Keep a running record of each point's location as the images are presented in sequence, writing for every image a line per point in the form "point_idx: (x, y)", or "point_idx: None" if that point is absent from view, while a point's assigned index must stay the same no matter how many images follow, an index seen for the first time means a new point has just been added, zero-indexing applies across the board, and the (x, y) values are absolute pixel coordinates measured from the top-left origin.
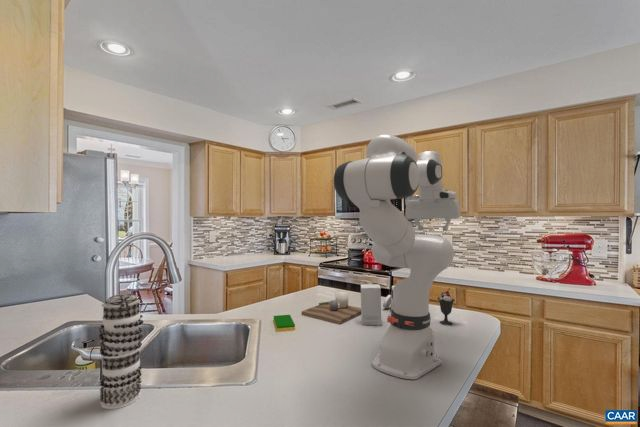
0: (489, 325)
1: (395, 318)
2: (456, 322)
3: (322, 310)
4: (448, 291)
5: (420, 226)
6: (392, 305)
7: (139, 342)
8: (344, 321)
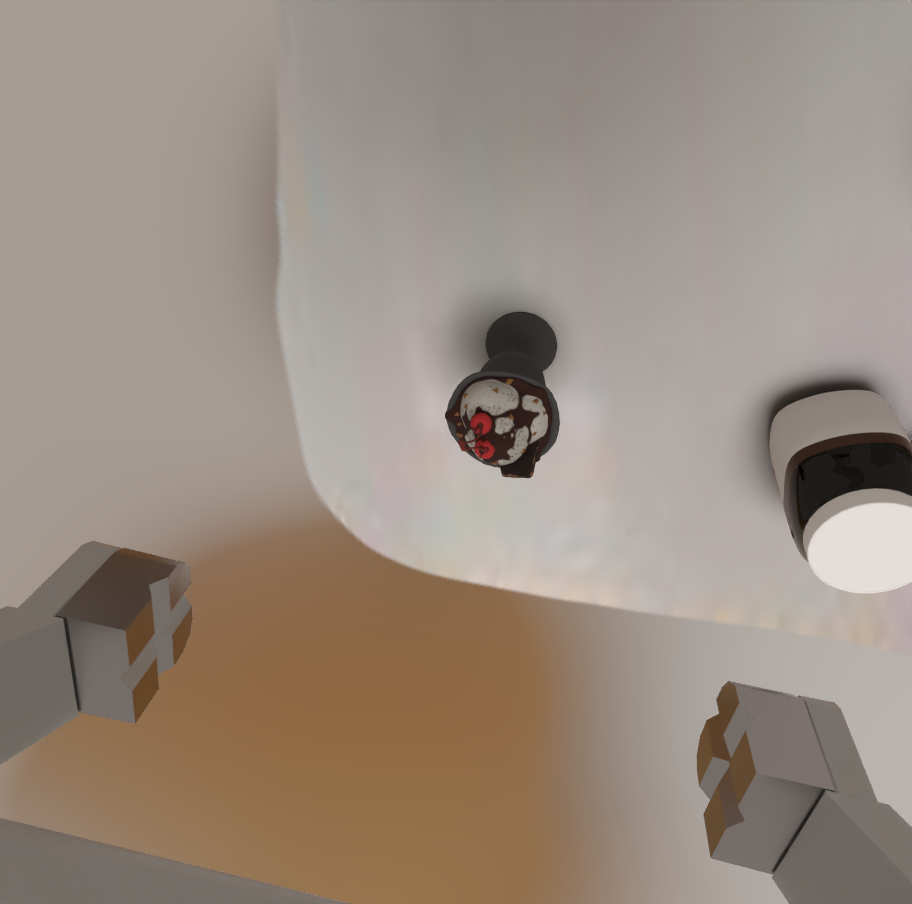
0: (315, 404)
1: None
2: None
3: None
4: (477, 451)
5: (784, 767)
6: (891, 410)
7: None
8: None
